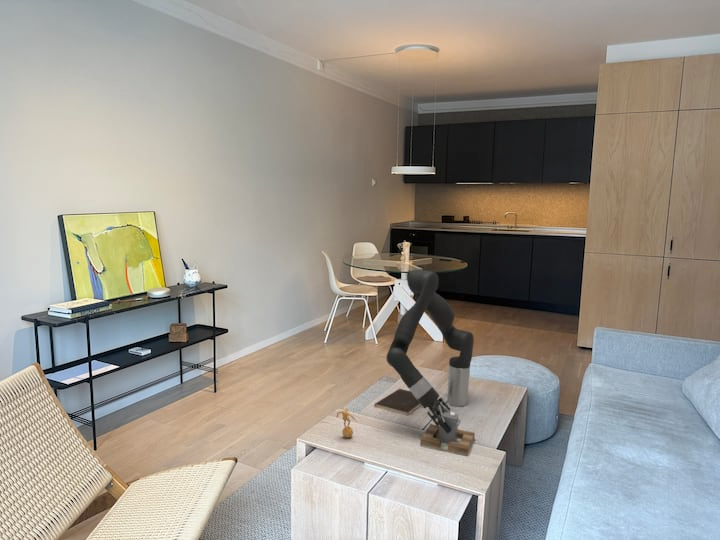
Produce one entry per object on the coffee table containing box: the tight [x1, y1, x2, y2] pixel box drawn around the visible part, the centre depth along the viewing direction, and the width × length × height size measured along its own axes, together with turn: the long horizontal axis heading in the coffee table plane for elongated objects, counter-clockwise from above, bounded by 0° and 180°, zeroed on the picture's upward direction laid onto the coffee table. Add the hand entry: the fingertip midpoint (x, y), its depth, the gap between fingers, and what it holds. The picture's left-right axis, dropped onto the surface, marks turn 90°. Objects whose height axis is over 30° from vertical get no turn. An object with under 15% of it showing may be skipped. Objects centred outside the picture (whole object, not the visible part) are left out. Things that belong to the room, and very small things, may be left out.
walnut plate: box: [419, 423, 476, 457], centre depth 190 cm, size 15×17×3 cm
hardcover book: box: [374, 388, 422, 416], centre depth 227 cm, size 16×23×2 cm
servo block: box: [438, 411, 462, 444], centre depth 189 cm, size 4×8×11 cm, turn 68°
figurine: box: [336, 407, 357, 438], centre depth 189 cm, size 8×6×12 cm
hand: (452, 427), depth 189 cm, fingers open, 8 cm apart
